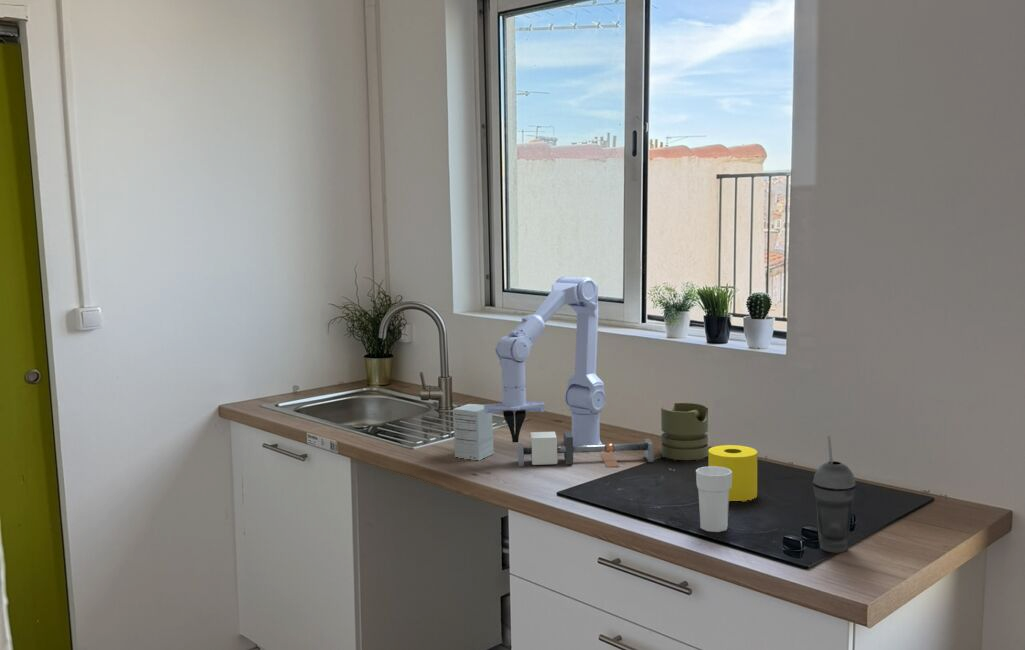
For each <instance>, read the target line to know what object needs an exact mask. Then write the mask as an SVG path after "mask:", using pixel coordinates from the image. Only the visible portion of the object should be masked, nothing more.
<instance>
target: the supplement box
mask: <svg viewBox="0 0 1025 650" xmlns="http://www.w3.org/2000/svg"><path fill="white" fill-rule="evenodd" d="M452 414H453V417H452V419H453V438H454V439H453V440H454V441H453V443H454V445H453V447H454V457H458V458H457V459H460V458H464V459H463V460H467V459H471V460H470V461H475V460H478V461H477V462H479V461H481V460H483V458H484V459H485V458H488V457H490V456H493V455H494V452H495V451H494V432H493V431H494V430H493V429H494V427H493V426H494V425H493V413H489V414H484V404H477V403H476V404H475V403H467V404H464V405H461V406H458V407H454V408H453V409H452Z"/></svg>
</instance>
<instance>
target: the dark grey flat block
mask: <svg viewBox="0 0 1025 650" xmlns="http://www.w3.org/2000/svg"><path fill="white" fill-rule="evenodd" d="M563 446H566V453H563V455H564V456H563V458H564V460H565V463H566V465H574V453H573V436H572V431H571V430H563Z"/></svg>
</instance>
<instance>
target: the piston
mask: <svg viewBox="0 0 1025 650" xmlns="http://www.w3.org/2000/svg"><path fill="white" fill-rule="evenodd" d="M673 405H674V406H673V409H672V410H670V409H666V408H664V406H661V407H660V413H661V414H660V415H661V417H660V418H661V419H660V420H661V421H660V422H661V426H660V427H661V431H662V432H663V433H661V435H660V436H661V439H660V440H661V457H663V458H664V457H667V458H672V459H682V460H693V459H702V458H705V457H707V456H708V457H709V454H708V450H709V435H708V434H707V432H708V431H709V407H708V405H705V404H702V403H696V402H695V403H694V402H675V403H674V404H673ZM708 457H707V458H708ZM667 458H666V459H667ZM705 459H706V458H705ZM702 460H703V459H702Z"/></svg>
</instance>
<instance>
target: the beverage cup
mask: <svg viewBox="0 0 1025 650" xmlns="http://www.w3.org/2000/svg"><path fill="white" fill-rule="evenodd" d="M827 445H828V455H829V456H828V457H829V459H828V460H829V461H826V462H824V463H823V464H821V465H820V466H819V467H818V468H817V470H816V471H815V473H814V475H813V481H812V486H813V493H814V496H815V506H816V518H817V519H816V520H817V532H818V540H819V548H820V549H821V550H822V551H825V552H829V553H843V552H844V553H845V552H846V551H847V549H848V543H849V538H850V537H849V536H850V527H851V518H852V507H853V501H854V500H853V499H854V497H855V493H856V492H855V491H856V488H857V484H856V479H855V476H854V473H853V472H852V469H850V468H849V467H848V466H847V465H846V464H844V463H842V462H840V461H835V460H833V451H832V440H831V435H828V436H827Z"/></svg>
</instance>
